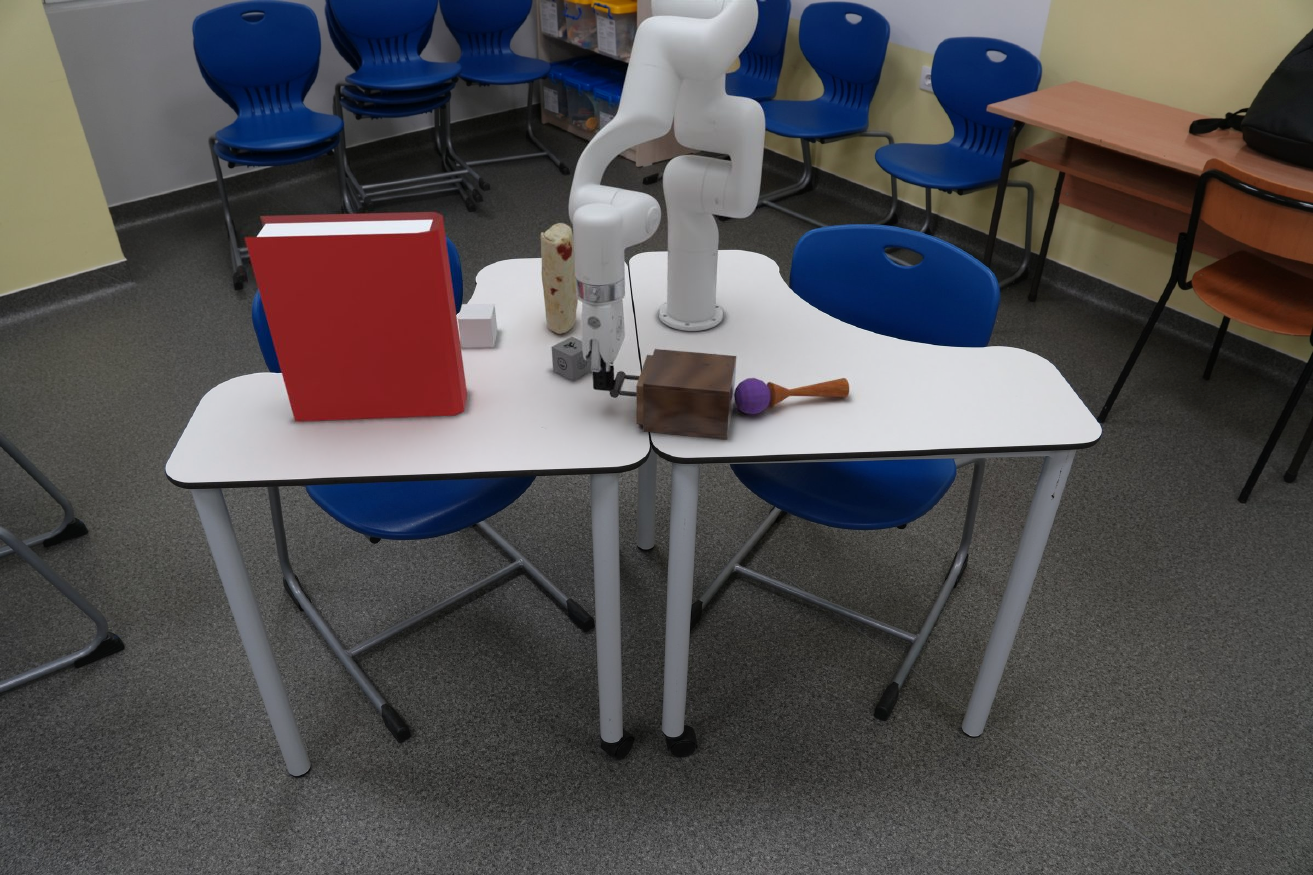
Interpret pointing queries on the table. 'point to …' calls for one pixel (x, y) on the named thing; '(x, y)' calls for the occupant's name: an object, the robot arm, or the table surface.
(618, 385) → the drawer
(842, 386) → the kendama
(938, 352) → the table surface
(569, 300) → the food model
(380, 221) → the book
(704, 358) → the cabinet
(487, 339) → the white cube
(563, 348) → the dice cube
